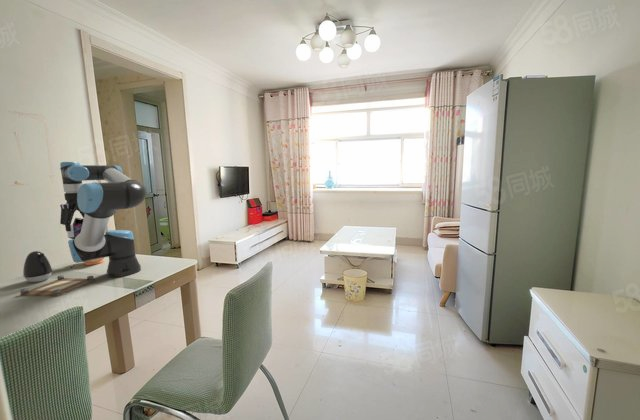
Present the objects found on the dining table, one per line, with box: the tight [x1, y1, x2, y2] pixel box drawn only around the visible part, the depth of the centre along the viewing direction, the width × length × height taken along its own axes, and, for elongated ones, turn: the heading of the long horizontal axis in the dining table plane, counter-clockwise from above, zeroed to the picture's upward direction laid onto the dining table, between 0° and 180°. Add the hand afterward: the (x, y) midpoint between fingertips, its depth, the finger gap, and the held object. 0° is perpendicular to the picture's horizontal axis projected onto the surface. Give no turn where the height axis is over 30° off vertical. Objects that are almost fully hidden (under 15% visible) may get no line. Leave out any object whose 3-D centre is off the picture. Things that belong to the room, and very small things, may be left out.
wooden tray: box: [19, 274, 95, 297], centre depth 130 cm, size 18×18×2 cm
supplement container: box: [67, 217, 84, 240], centre depth 145 cm, size 7×7×10 cm
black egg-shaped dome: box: [22, 250, 53, 283], centre depth 139 cm, size 10×10×15 cm
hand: (79, 235), depth 145 cm, fingers closed on supplement container, 9 cm apart
